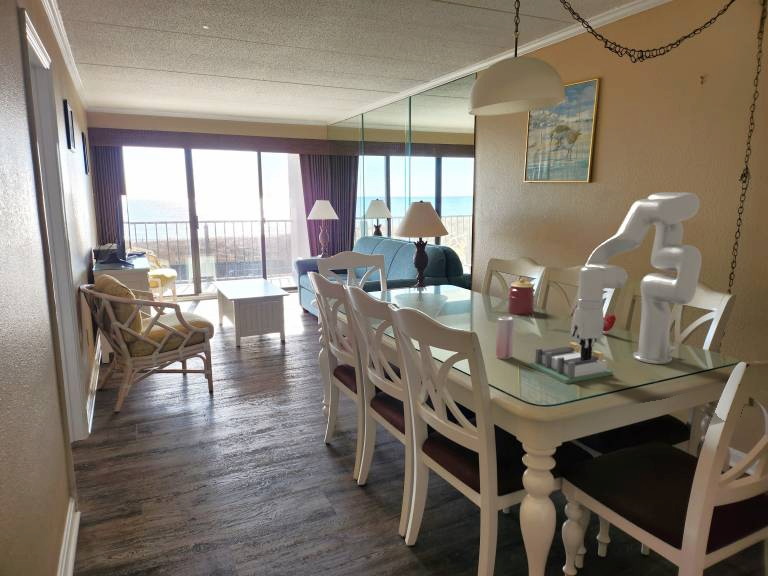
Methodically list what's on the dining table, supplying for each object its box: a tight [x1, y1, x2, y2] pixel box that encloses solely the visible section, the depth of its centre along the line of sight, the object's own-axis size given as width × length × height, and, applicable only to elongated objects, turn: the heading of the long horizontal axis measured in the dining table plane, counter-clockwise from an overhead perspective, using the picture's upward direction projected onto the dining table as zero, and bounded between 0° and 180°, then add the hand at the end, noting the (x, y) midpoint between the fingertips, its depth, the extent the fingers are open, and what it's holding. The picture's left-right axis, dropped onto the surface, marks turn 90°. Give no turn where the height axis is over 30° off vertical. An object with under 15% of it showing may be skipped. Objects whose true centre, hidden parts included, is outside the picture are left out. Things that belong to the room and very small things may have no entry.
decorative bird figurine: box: [602, 313, 617, 336], centre depth 222 cm, size 3×18×10 cm, turn 19°
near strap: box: [563, 356, 598, 365], centre depth 171 cm, size 12×3×1 cm, turn 113°
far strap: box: [541, 346, 574, 355], centre depth 181 cm, size 12×3×1 cm, turn 113°
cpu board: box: [529, 341, 614, 384], centre depth 177 cm, size 20×18×7 cm
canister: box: [507, 277, 536, 316], centre depth 262 cm, size 13×13×18 cm
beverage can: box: [495, 316, 514, 360], centre depth 191 cm, size 6×6×15 cm
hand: (585, 357), depth 172 cm, fingers closed
